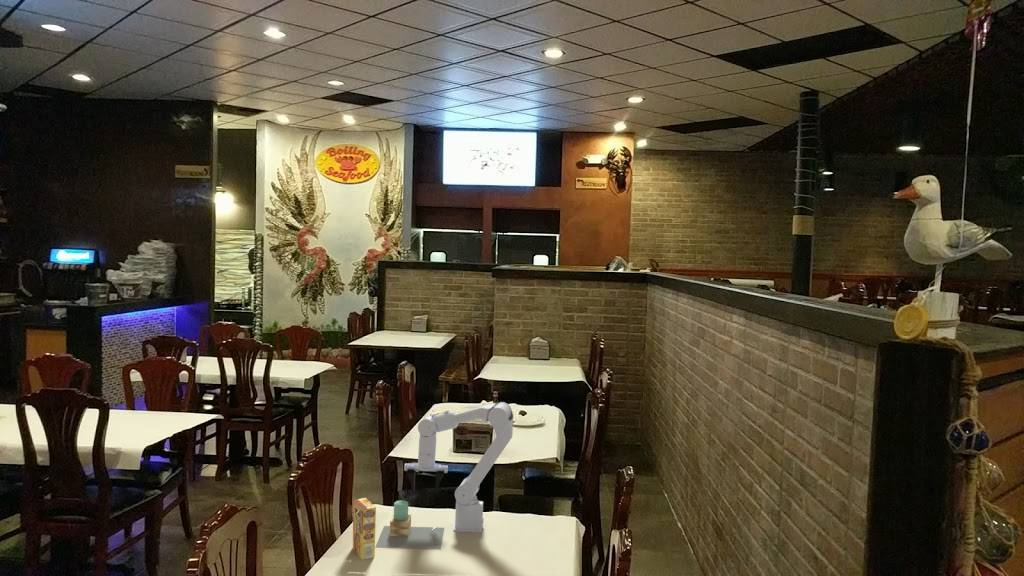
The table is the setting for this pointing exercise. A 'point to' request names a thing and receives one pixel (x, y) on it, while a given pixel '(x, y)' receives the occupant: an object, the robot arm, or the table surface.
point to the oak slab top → (400, 523)
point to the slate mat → (412, 538)
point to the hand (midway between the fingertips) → (424, 492)
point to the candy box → (364, 528)
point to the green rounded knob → (401, 510)
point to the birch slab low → (400, 532)
